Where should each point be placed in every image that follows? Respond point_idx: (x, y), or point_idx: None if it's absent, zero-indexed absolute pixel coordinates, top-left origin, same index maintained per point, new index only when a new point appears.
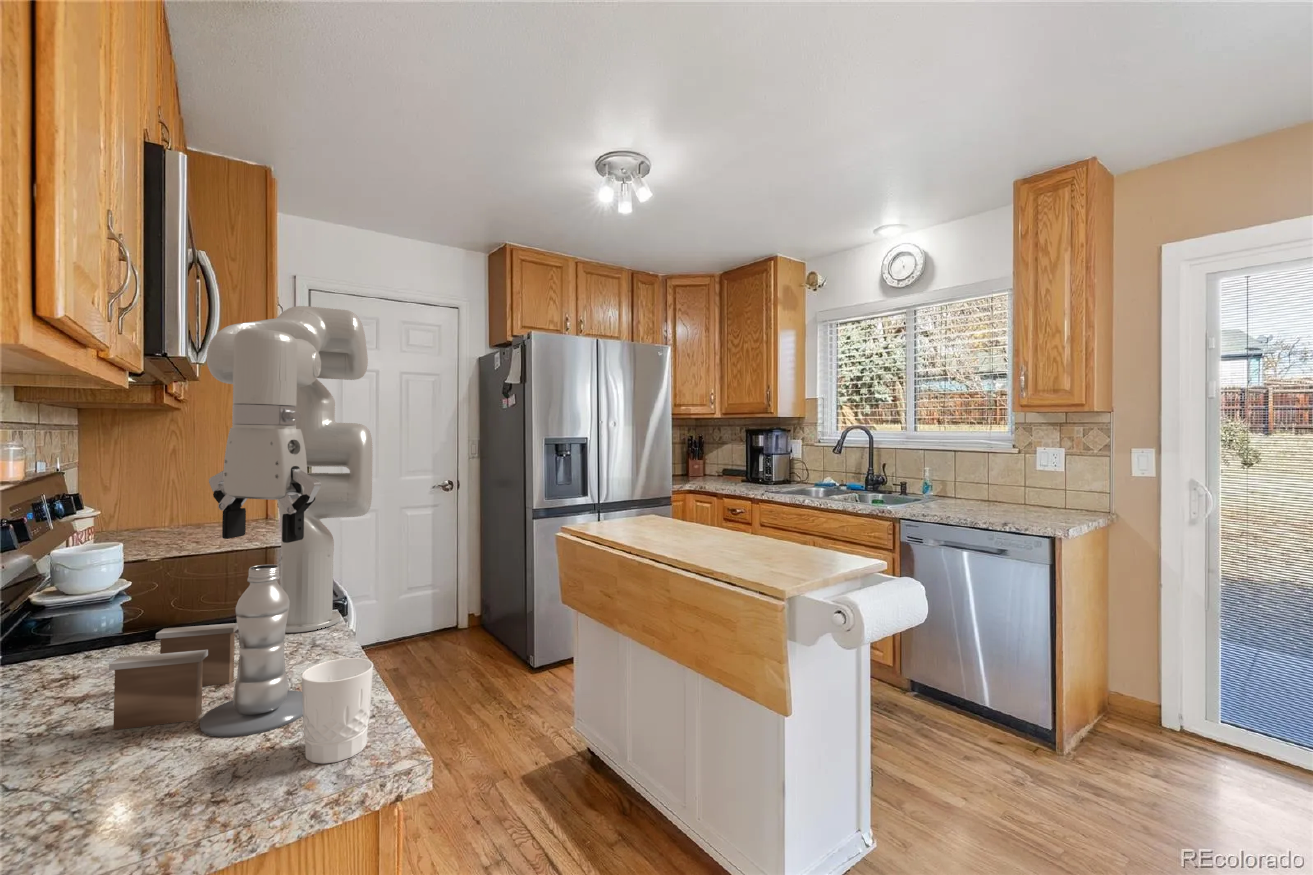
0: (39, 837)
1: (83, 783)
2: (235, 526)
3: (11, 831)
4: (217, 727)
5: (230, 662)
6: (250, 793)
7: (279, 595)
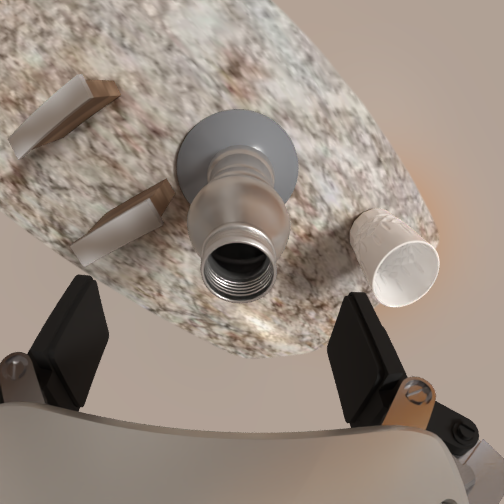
0: (233, 344)
1: (192, 300)
2: (92, 340)
3: (208, 342)
4: None
5: (108, 93)
6: (337, 296)
7: (283, 241)
